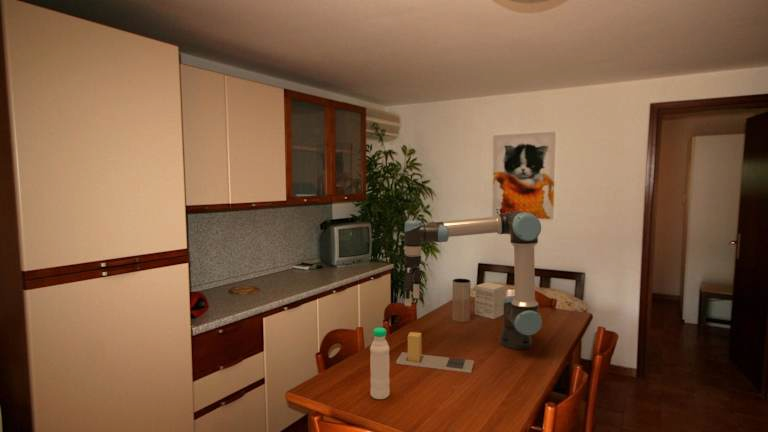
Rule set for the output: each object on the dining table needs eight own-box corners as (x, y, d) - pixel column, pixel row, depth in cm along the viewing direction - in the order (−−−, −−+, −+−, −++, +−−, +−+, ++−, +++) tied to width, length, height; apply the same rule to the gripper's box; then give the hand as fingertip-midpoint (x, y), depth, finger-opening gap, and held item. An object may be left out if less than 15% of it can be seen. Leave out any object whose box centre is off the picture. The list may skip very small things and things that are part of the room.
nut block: (421, 359, 193) (421, 333, 192) (418, 363, 188) (419, 336, 187) (410, 358, 195) (410, 331, 194) (407, 362, 190) (407, 335, 189)
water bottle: (369, 391, 164) (369, 326, 162) (388, 390, 164) (388, 325, 163) (370, 400, 157) (370, 332, 155) (390, 399, 157) (390, 332, 156)
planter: (473, 319, 249) (473, 280, 247) (463, 323, 242) (464, 283, 240) (458, 315, 256) (458, 277, 254) (448, 319, 249) (449, 280, 247)
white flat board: (473, 363, 189) (473, 360, 189) (471, 372, 179) (471, 369, 179) (402, 354, 198) (402, 352, 198) (396, 363, 189) (396, 360, 189)
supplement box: (486, 309, 268) (486, 281, 267) (505, 314, 259) (506, 285, 257) (474, 314, 259) (474, 285, 257) (493, 319, 249) (494, 289, 248)
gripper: (412, 250, 208) (411, 294, 210) (396, 259, 185) (395, 308, 186) (427, 251, 206) (427, 295, 207) (413, 260, 182) (412, 310, 184)
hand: (412, 301), depth 197 cm, fingers open, 13 cm apart
